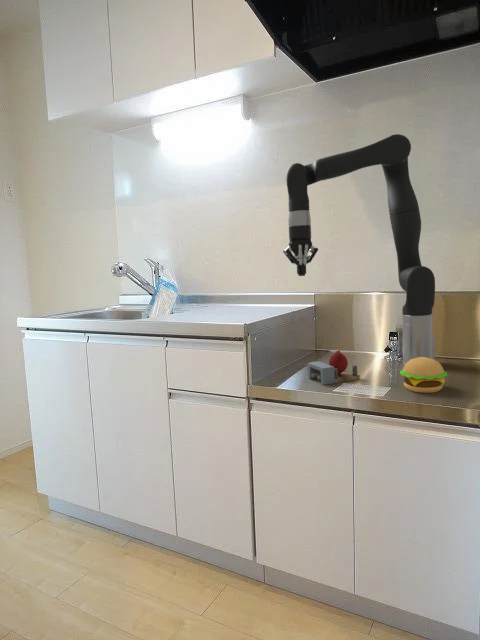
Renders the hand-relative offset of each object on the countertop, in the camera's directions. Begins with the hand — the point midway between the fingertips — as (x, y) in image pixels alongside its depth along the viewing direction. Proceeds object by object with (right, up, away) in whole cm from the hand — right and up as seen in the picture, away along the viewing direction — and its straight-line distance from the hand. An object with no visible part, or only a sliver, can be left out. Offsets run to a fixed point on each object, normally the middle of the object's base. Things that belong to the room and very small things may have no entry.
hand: (301, 275), depth 154 cm
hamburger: (+30, -35, -30) cm, 55 cm away
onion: (+10, -33, -14) cm, 37 cm away
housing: (+4, -34, -16) cm, 38 cm away
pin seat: (+8, -34, -15) cm, 38 cm away
